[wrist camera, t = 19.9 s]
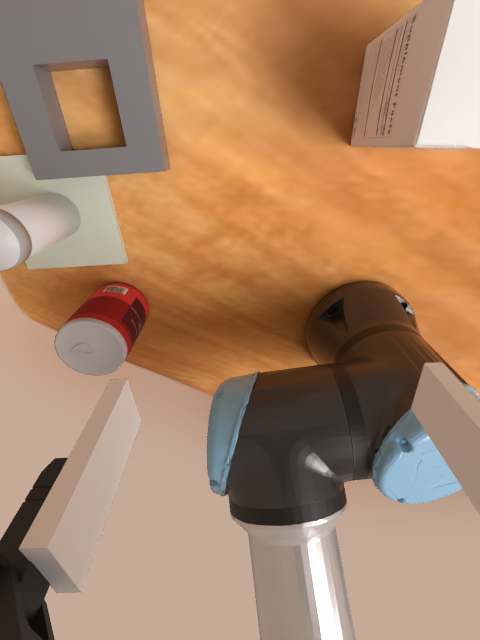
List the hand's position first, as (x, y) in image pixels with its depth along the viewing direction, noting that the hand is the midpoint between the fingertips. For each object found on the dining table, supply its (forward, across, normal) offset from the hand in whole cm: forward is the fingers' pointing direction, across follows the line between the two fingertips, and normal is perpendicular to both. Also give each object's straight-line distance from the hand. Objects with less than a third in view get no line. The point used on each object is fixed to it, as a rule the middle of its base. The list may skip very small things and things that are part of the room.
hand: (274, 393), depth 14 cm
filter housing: (+29, +16, -19) cm, 38 cm away
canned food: (+29, +19, +9) cm, 36 cm away
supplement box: (+29, -16, -13) cm, 36 cm away
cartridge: (+28, +23, -4) cm, 36 cm away
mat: (+29, +23, -4) cm, 37 cm away
